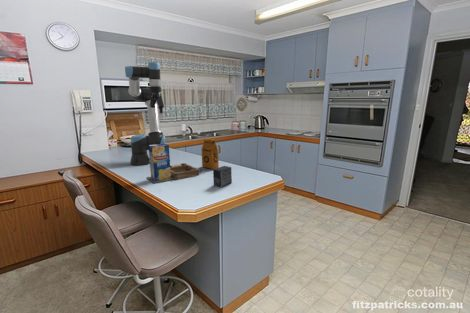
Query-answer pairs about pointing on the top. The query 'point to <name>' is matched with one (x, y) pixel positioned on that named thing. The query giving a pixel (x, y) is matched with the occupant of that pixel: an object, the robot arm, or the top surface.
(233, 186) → the top surface
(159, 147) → the beverage box
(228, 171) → the small box
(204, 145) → the coffee package
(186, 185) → the top surface
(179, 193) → the top surface
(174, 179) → the mat
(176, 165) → the offcut stack
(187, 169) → the frame
